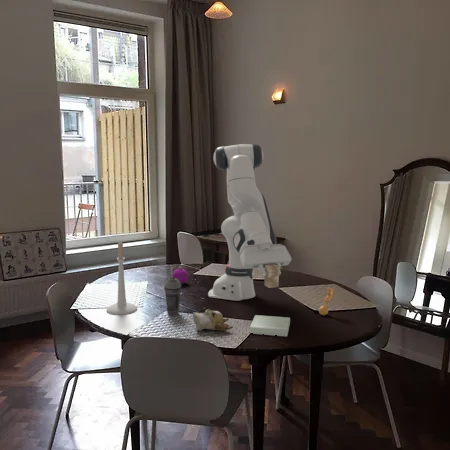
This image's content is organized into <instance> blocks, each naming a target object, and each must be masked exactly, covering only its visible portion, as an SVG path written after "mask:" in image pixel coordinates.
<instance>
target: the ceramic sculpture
mask: <svg viewBox="0 0 450 450" xmlns="http://www.w3.org/2000/svg"><path fill="white" fill-rule="evenodd" d="M192 318H193V323H194V324H195V329H197V331H199V332H201V331H203V330H204V329H205V330H206V329H207V330H211V331H217V330H218V331H223V332H224V331H227V330H232V329H233V327H234V326H231V325H229V324H228V323H226V322H227V321H229V319H230V318H229V317H227V318H224V316H223V314H222V313H221V312H220V311H219V310H214V309H213V308H212V307H211V308H208V309H206V310H205V311H204V312H200V313H199V312H195V311H193V312H192Z"/></svg>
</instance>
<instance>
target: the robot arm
mask: <svg viewBox="0 0 450 450" xmlns="http://www.w3.org/2000/svg"><path fill="white" fill-rule="evenodd" d="M263 151H264V150H263V149H262V147H261V146H260V144H256V143H251V144H249V143H247V144H246V143H241V144H240V143H239V144H233V145H226V146H224V145H222V146H218V147H216V148H215V150H214V153H213V163H214V165H215V168H217V169H218V170H220V171H225V172H226V194H227V203H228V204H229V205H230V207H231V209H232V212H233V215H230V216H229V217H227V218H225V220H223V222H222V223H221V226H220V229H221V230H220V231H221V233H222V235H223V236H224V238H225V239H226V243H227V246H228V253H229V254H228V258H229V259H228V260H229V261H228V264H226V265H225V268H224V273H223V274H222V275H221V276H220V277H218V278H217V279H216V280H215V281H214V283H213V287H212V288H211V289H210V290H209V291H208V293H207V296H208V297H209V298H213V299H214V298H215V299H222V300H229V301H238V302H239V301H243V300H249V299H252V298H254V297H256V292H255V287H254V276H255V275H254V270H255V269H257V270H258V271H259V272H260V273H261V274H262V277H263V278H264V277H267V276H268V271H265V265H270V264H275V265H277V266H279V276H281V274H282V272H281V267H282V266H283V267H284V266H289V264H290V263H291V261H292V256H291V255H290V252H289V250H288V249H287V247H286V246H285V245H283V244H281V243H277V236H276V234H275V232H274V229H273V225H272V221H271V218H270V213H269V209H268V205H267V201H266V199H265V196H264V194H263V193H262V192H260V190H259V188H258V186H257V183H256V176H255V169H257V168H258V167H260V166H261V165H262V164H263V160H264V152H263Z"/></svg>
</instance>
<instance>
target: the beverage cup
mask: <svg viewBox="0 0 450 450" xmlns="http://www.w3.org/2000/svg"><path fill="white" fill-rule="evenodd" d="M173 272H174V271H173V266H171V267H170V273H171V277H169V278H168V279H167V280H166V281H165V283H164V292H165V299H166V301H165V302H166V310H167V311H166V312H167V315H168V316H170V317H171V316H178V315H179V312H180V304H181V303H180V301H181V300H180V299H181V291H182V284H181V283H180V281H179V280H178V279H177V278H173Z"/></svg>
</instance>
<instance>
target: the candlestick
mask: <svg viewBox="0 0 450 450" xmlns="http://www.w3.org/2000/svg"><path fill="white" fill-rule="evenodd" d="M123 244H124V243H123V242H121V241H120V242H117V253H118V254H117V255H118V257H116V259H117V263H118V278H117V281H118V282H117V303H113V304H111V305H109V306H108V307H107V308H106V312H107V314H109V315H115V316H123V315H124V316H125V315H131V314H133V313H136V312H137V311H138V306H136V305H135V304H133V303H130V302H127V298H126V284H125V274H124V273H125V271H124V270H125V269H124V262H125V259H126V257H124V249H123V248H124V245H123Z"/></svg>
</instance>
